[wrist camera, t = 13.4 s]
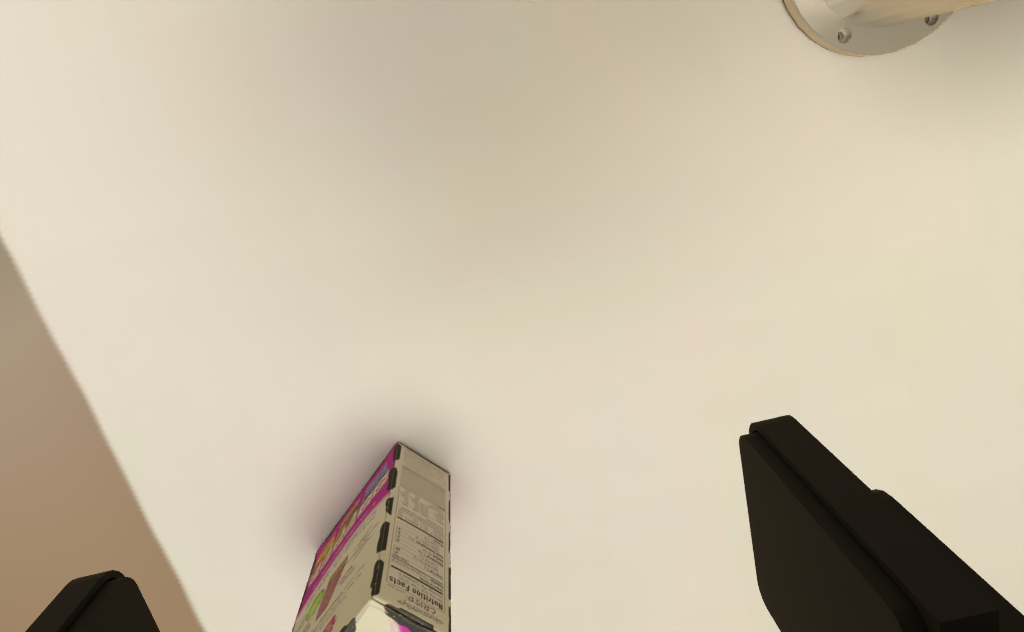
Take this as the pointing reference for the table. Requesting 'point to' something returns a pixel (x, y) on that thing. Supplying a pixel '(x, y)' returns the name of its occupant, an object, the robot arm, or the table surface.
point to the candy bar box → (386, 556)
